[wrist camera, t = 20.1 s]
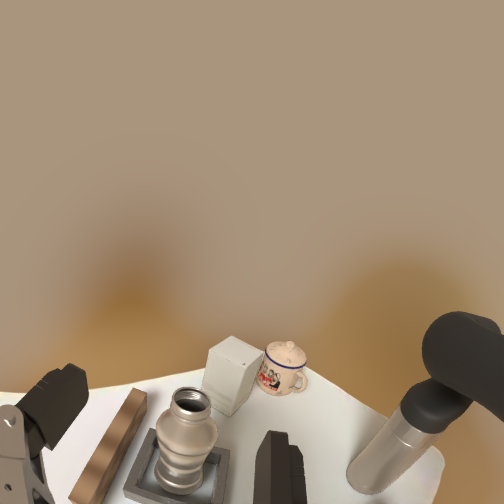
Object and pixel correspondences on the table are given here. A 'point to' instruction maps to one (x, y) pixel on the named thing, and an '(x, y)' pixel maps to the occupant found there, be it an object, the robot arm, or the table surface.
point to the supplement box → (230, 374)
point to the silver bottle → (184, 441)
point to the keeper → (151, 500)
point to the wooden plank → (110, 451)
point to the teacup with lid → (282, 369)
